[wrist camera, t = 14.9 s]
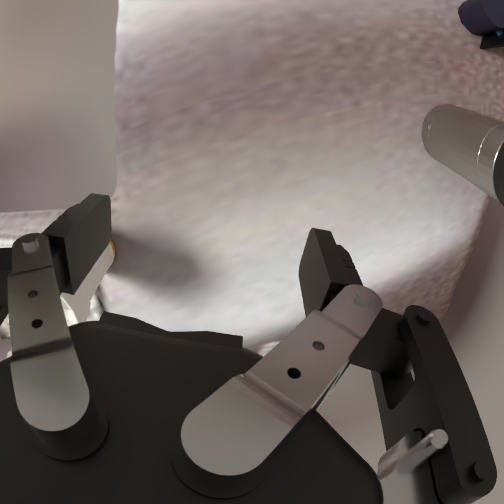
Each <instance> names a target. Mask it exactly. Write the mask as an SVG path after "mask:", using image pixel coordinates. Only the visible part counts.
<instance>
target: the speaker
mask: <svg viewBox="0 0 504 504" xmlns="http://www.w3.org/2000/svg"><path fill="white" fill-rule="evenodd" d="M458 13H459V16H460V19H461V23H462V24H463V25H464V26H465V27H466V28H467V29H468V30H469V31H470V32H472V33H474V34H484V35H483V38H482V42H481V45H480V48H481V49H486V48H495V47H504V0H468V1H465V2H464V3H463V4H462V5H461V6H460V7H459V9H458Z"/></svg>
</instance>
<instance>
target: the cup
mask: <svg viewBox="0 0 504 504" xmlns="http://www.w3.org/2000/svg"><path fill="white" fill-rule="evenodd" d="M115 253H116V252H115V248H114V244H113V242H112V240H111V239H110V242H109V245H108V246H107V248H106V249H105V250H104V252H103V253H102V255H101V256H100V257H99V259H98V260H97V262H96V263H95V265H94V266H93V267H92V269H91V270H90V272H89V273H88V275H87V276H86V278H85V279H84V281H83V282H82V284H81V285H80V287H79V288H78V290H77V291H76V293H75V294H74V295H71V294H67V293H63V292H62V293H61V295H60V298H61V302H62V306H63V310H64V314H65V318H66V321H67V325H68V326H71V325H74V324H77V323H81V322H86V320H87V318H88V316H89V313H90V304H91V303H90V300H91V299H92V297H93V295H94V293H95V291H96V289H97V287H98V286H99V284H100V282H101V280H102V278H103V277H104V275H105V273H106V271H107V270H108V268H109V267H110V266H111V265H112V263H113V261H114V258H115Z"/></svg>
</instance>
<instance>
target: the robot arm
mask: <svg viewBox="0 0 504 504" xmlns="http://www.w3.org/2000/svg"><path fill="white" fill-rule="evenodd" d="M422 137H423V143H424V145H425V148H426V150H427V152H428V153H429V154H430V155H431V156H432V157H433V158H434V159H436V160H437V161H439V162H440V163H442V164H444V165H445V166H447V167H448V168H450V169H451V170H453V171H454V172H456V173H458V174H459V175H461V176H462V177H464V178H465V179H467V180H468V181H470V182H471V183H473V184H474V185H475V186H477V187H478V188H480V189H481V190H483V191H484V192H485V193H487V194H488V195H490V196H491V197H492V198H494V199H495V200H497V201H498V202H499V203H501V204H502V205H503V206H504V122H502V121H499V120H497V119H494V118H491V117H488V116H485V115H482V114H479V113H476V112H472V111H469V110H466V109H463V108H459V107H456V106H452V105H448V104H446V105H440V106H437V107H435V108H434V109H432V110H431V111H430V113H429V114H428V115H427V117H426V119H425V121H424V124H423V130H422ZM110 239H111V201H110V197H109V196H108V195H101V194H90V195H89V196H88V197H87V198H85V199H84V200H83V201H82V202H81V203H80V204H76V205H74V206H72V207H70V208H68V209H67V210H66V211H65V212H64V213H63V214H62V216H61V215H60V216H59V217H58V218H57V219H56V220H55V221H54V222H53V223H52V224H51V225H50V226H49V227H47V228H46V229H45V230H44V231H43V232H42V233H30V234H26V235H23V236H21V237H20V238H18V239H17V240H16V241H15V242H14V243H13V245H12V248H0V326H1V324H2V322H3V321H4V319H5V318H6V316H7V315H8V313H9V326H10V337H11V346H12V356H11V357H9V358H7V359H5V360H3V361H1V362H0V504H471V503H473V502H474V501H476V500H478V499H480V498H482V497H483V496H485V495H487V494H488V493H489V492H490V491H491V490H492V489H493V488H494V486H495V483H496V479H497V470H496V465H495V462H494V459H493V455H492V452H491V449H490V446H489V442H488V439H487V436H486V433H485V431H484V427H483V425H482V421H481V419H480V416H479V413H478V410H477V408H476V405H475V403H474V400H473V397H472V395H471V392H470V390H469V387H468V385H467V382H466V380H465V377H464V375H463V373H462V370H461V368H460V366H459V363H458V361H457V359H456V357H455V354H454V352H453V350H452V348H451V346H450V343H449V341H448V339H447V337H446V335H445V333H444V331H443V329H442V327H441V325H440V323H439V321H438V319H437V318H436V316H435V315H434V314H433V313H432V312H430V311H429V310H427V309H425V308H423V307H421V306H417V305H411V306H408V307H407V308H406V309H405V311H404V313H403V315H400V314H397V313H395V312H392V311H389V310H386V309H384V308H382V306H383V304H382V300H381V298H380V297H379V296H378V295H377V294H376V293H375V292H374V291H373V290H371V289H369V288H367V287H365V286H363V284H362V282H361V279H360V277H359V275H358V272H357V270H356V269H355V265H354V263H353V262H352V259H351V256H350V254H349V253H348V252H347V251H346V250H345V249H344V248H343V247H342V246H341V245H336V243H335V240H334V238H333V235H332V233H331V231H327V230H322V229H316V228H312V229H311V230H310V232H309V235H308V238H307V242H306V245H305V248H304V252H303V255H302V258H301V262H300V266H299V280H300V286H301V292H302V297H303V303H304V309H305V315H306V318H305V319H304V320H303V321H302V322H301V323H300V324H299V325H298V326H297V327H296V328H294V329H293V330H292V331H291V332H290V333H289V334H288V335H287V336H286V337H285V338H284V339H283V340H282V341H281V342H280V343H278V344H277V345H276V346H275V347H274V348H273V349H272V350H271V351H270V352H269V353H268V354H266V355H265V356H264V357H263V356H261V355H259V354H258V353H256V352H254V351H251V350H249V349H247V348H244V347H242V343H243V336H237V335H230V334H223V333H216V332H210V331H191V332H169V331H165V330H163V329H160V328H158V327H155V326H153V325H151V324H148V323H146V322H143V321H141V320H139V319H136V318H133V317H128V316H123V315H118V314H114V313H109V312H105V311H104V312H103V314H102V316H101V318H100V320H99V321H87V322H81V323H77V324H74V325H71V326H68V325H67V321H66V318H65V314H64V310H63V306H62V302H61V298H60V295H61V293H62V292H63V293H67V294H71V295H74V294H75V293H76V291H77V290H78V288H79V287H80V285H81V284H82V282H83V281H84V279H85V278H86V276H87V275H88V273H89V272H90V270H91V269H92V267H93V266H94V265H95V263H96V262H97V260H98V259H99V257H100V256H101V255H102V253H103V252H104V250H105V249H106V248H107V246H108V245H109V242H110ZM350 364H353V365H357V366H360V367H363V368H366V369H369V370H371V374H372V378H373V383H374V387H375V392H376V397H377V402H378V407H379V412H380V417H381V423H382V428H383V434H384V439H385V445H386V451H387V452H386V453H384V454H383V456H382V457H381V458H380V460H379V463H378V474H376V473H375V471H374V470H373V469H372V467H371V466H370V465H369V464H368V463H367V462H366V461H365V460H364V459H363V458H362V457H361V456H360V455H359V454H358V453H357V452H356V451H355V450H354V449H353V448H352V447H351V446H350V445H349V444H348V443H347V442H346V441H345V440H344V439H343V438H342V437H341V436H340V435H339V434H338V433H337V432H336V431H335V430H334V429H333V428H332V427H331V425H330V424H329V423H328V422H327V421H326V420H325V419H324V418H323V417H322V416H321V415H320V414H319V413H318V412H317V411H318V409H319V408H320V406H321V405H322V404H323V402H324V401H325V399H326V398H327V396H328V395H329V394H330V392H331V391H332V389H333V388H334V387H335V386H336V384H337V383H338V381H339V380H340V378H341V377H342V376H343V374H344V373H345V371H346V370H347V368H348V367H349V365H350ZM412 368H413V370H414V374H415V381H413V378H412V374H411V370H412Z"/></svg>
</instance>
